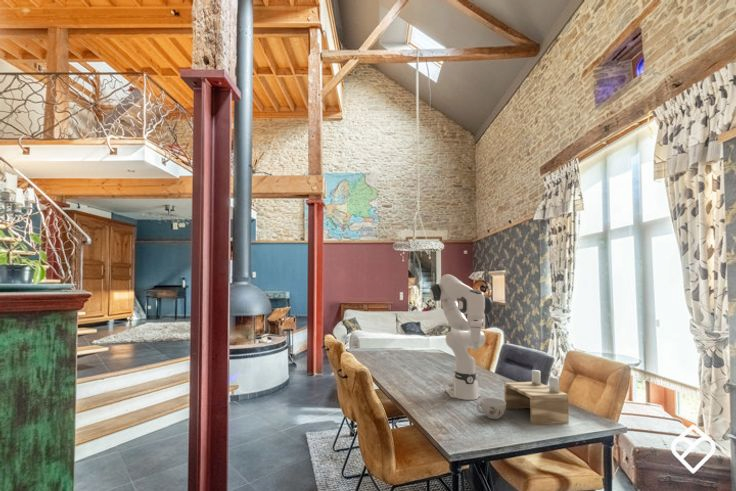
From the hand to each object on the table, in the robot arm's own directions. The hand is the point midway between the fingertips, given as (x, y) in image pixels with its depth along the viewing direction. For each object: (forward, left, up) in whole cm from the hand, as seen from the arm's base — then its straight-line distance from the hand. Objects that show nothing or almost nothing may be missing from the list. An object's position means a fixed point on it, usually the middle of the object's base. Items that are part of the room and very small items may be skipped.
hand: (476, 349), depth 194 cm
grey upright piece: (+8, +38, -20) cm, 44 cm away
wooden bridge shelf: (+1, +32, -33) cm, 47 cm away
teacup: (+1, +7, -34) cm, 34 cm away
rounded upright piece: (-6, +38, -20) cm, 44 cm away
